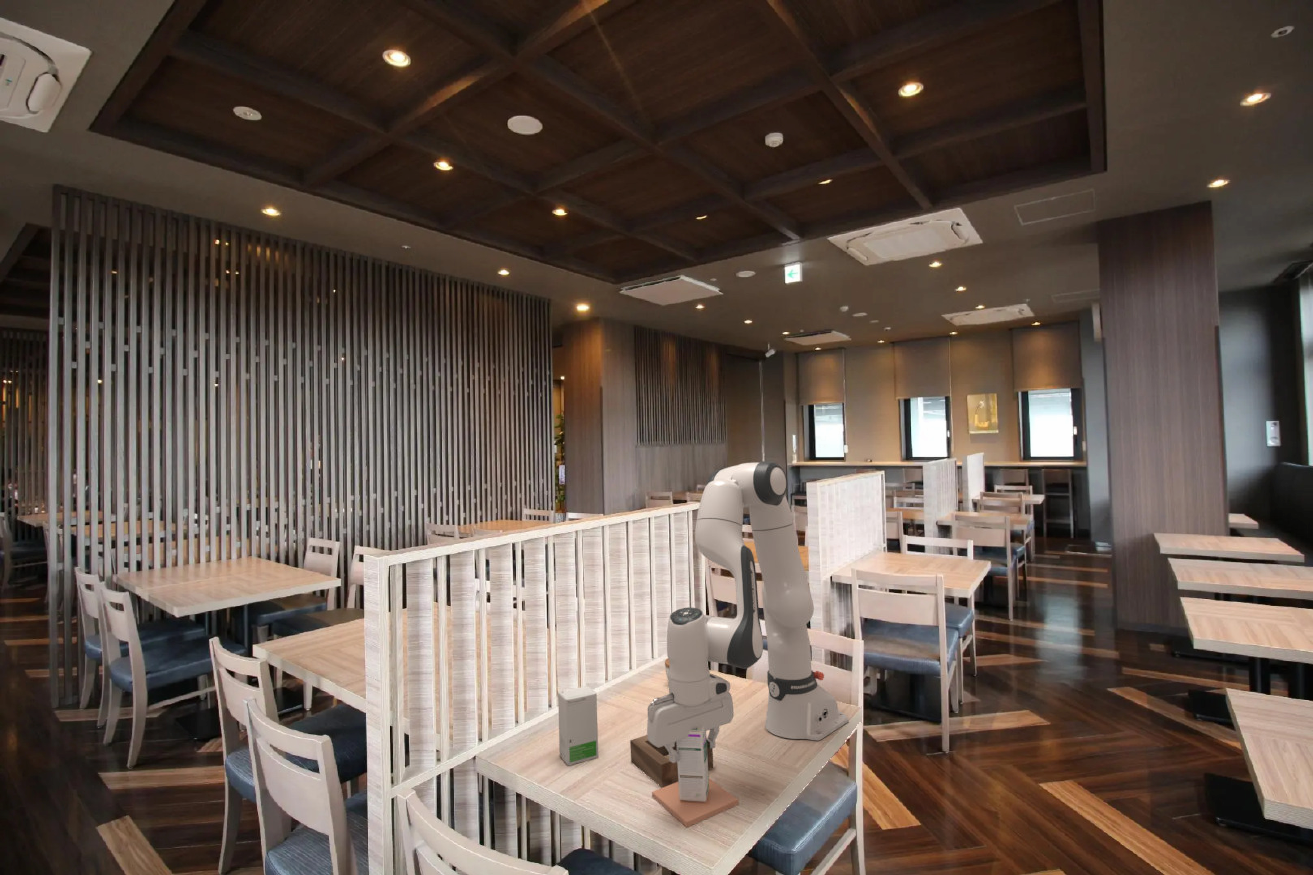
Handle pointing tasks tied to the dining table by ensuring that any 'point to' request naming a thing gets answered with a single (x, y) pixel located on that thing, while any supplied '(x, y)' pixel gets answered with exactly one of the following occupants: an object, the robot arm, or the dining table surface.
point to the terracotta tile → (694, 803)
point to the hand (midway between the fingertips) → (692, 754)
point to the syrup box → (693, 766)
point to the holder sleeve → (657, 761)
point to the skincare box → (578, 725)
